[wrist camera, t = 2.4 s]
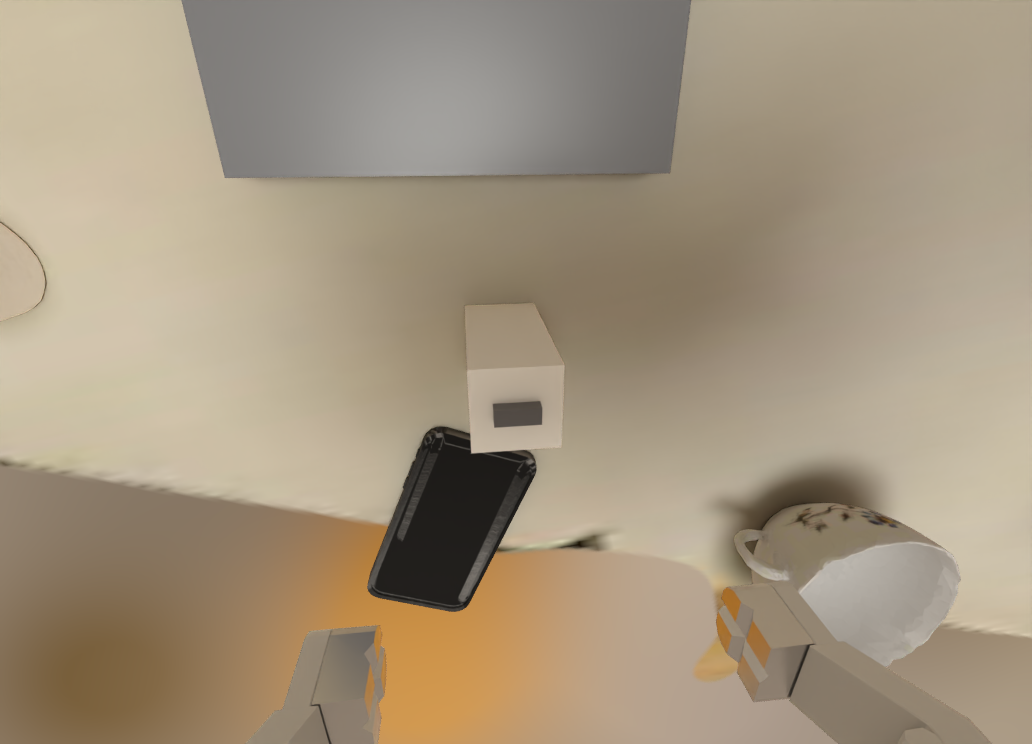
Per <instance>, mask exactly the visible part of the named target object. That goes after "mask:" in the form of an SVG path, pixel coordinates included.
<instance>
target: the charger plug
mask: <svg viewBox="0 0 1032 744" xmlns="http://www.w3.org/2000/svg"><path fill="white" fill-rule="evenodd" d="M465 330H466V360H467V382H468V401H469V419H470V438H471V453H485V452H500V451H515V450H530V449H545V448H560V447H562V424H563V400H564V375H565V364H564V362H563V360H562V358H561V356H560V354H559V352H558V350H557V348H556V346H555V344H554V342H553V340H552V338H551V336H550V334H549V332H548V330H547V328H546V326H545V324H544V322H543V320H542V318H541V316H540V314H539V312H538V310H537V308H536V306H535V304H534V303H516V304H489V305H465Z"/></svg>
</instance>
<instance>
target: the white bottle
mask: <svg viewBox="0 0 1032 744" xmlns="http://www.w3.org/2000/svg"><path fill="white" fill-rule="evenodd" d="M44 289H45V276H44V272H43V269H42V266H41V264H40V262H39V260H38V258H37V256H35V255H34V253H33V251H32V250H31V249H30V248H29V247H28V245H27V244H26V243H25V242H24V241H22V240H21V239H20V238H19V237H18V236H17V235H16V234H15V233H13V232H12V231H11V230H9V229H8V228H7V227H5V226H4V225H3V224H2V223H0V321H3V320H6V319H9V318H12V317H14V316H17V315H20V314H23V313H26V312H27V311H29V310H31V309H33V308H34V307H35V306H36V305H37V304H38V303H39V302H40V301H41V299H42V296H43V293H44Z"/></svg>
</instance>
